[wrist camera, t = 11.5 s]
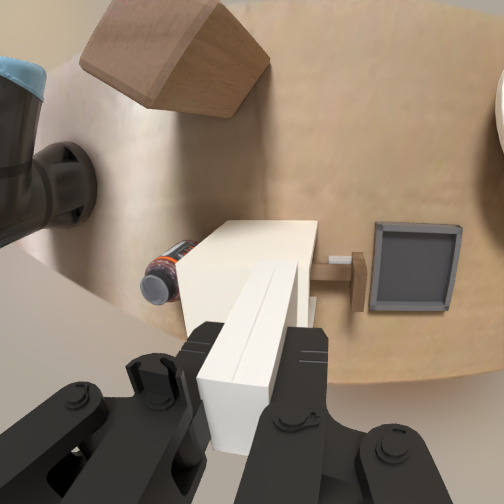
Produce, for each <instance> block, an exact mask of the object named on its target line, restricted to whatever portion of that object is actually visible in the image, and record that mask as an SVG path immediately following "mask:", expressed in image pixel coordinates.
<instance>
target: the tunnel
mask: <svg viewBox="0 0 504 504" xmlns="http://www.w3.org/2000/svg"><path fill="white" fill-rule="evenodd" d="M317 229H318V221H300V220H227V221H226V222H225V223H224V224H222V225H221V226H220V227H219V228H218V229H216V230H215V231H214V232H213V233H212V234H210V235H209V236H208V237H207V238H205V239H204V240H203V241H202V242H201V243H199V244H198V245H197V246H196V247H195V248H193V249H192V250H191V251H190V252H189V253H187V254H186V255H185V256H184V257H183V258H181V259H180V260H179V261H178V262H177V263H176V264H175V265H176V272H177V278H178V284H179V291H180V297H181V302H182V308H183V314H184V320H185V325H186V330H187V336H188V337H189V336H190V334H191V333H192V331H193V330H194V329H195V328H196V327H198V326H199V325H201V324H202V323H204V322H205V321H210V322H221V323H225V322H226V320H227V318H228V317H229V315H230V313H231V311H232V309H233V307H234V305H235V303H236V301H237V299H238V297H239V296H240V294H241V292H242V290H243V288H244V286H245V284H246V282H247V280H248V278H249V276H250V275H251V273H252V271H253V269H254V267H255V265H256V263H257V261H258V260H286V261H298V305H297V327H307V328H313V325H314V317H315V310H316V301H317V297H310V269H311V264H312V258H313V253H314V247H315V241H316V235H317ZM351 260H352V256H329V263H332V264H351Z"/></svg>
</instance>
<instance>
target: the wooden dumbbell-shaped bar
mask: <svg viewBox="0 0 504 504" xmlns="http://www.w3.org/2000/svg"><path fill="white" fill-rule="evenodd" d="M310 280H334V281H350V299H351V311H354V312H363V310H364V301H365V291H366V280H367V268H366V264H365V259H364V255H363V252H352V260H351V264H332V263H312V264H311V269H310Z"/></svg>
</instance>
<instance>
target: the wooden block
mask: <svg viewBox="0 0 504 504" xmlns="http://www.w3.org/2000/svg"><path fill="white" fill-rule="evenodd" d="M269 62H270V57H269V56H268V55H267V54H266V52H265V51H264V50H263V49H262V48H261V46H260V45H259V44H258V43H257V42H256V40H255V39H254V38H253V37H252V36H251V35H250V33H249V32H248V31H247V30H246V29H245V28H244V27H243V26H242V24H241V23H240V22H239V21H238V20H237V19H236V18H235V17H234V16H233V14H232V13H231V12H230V11H229V10H228V9H227V8H226V7H225V6H224V5H223V4H222V3H221V2H220V1H219V0H113V1H112V2H111V4H110V5H109V7H108V9H107V10H106V12H105V13H104V15H103V17H102V18H101V20H100V22H99V24H98V25H97V27H96V29H95V31H94V32H93V34H92V36H91V38H90V39H89V41H88V43H87V45H86V47H85V49H84V51H83V53H82V55H81V57H80V61H79V65H80V66H81V68H82V69H83V70H84V71H86V72H87V73H89V74H91V75H93V76H94V77H96V78H98V79H99V80H101V81H103V82H104V83H106V84H108V85H109V86H111V87H113V88H114V89H116V90H118V91H119V92H121V93H123V94H124V95H126V96H127V97H129V98H131V99H132V100H134V101H136V102H137V103H139V104H140V105H142V106H144V107H145V108H147V109H157V110H168V111H177V112H185V113H193V114H201V115H208V116H215V117H222V118H228V119H229V118H230V117H232V116H233V115H234V114H235V112H236V111H237V109H238V108H239V106H240V105H241V103H242V102H243V100H244V99H245V97H246V96H247V95H248V93H249V92H250V90H251V89H252V87H253V86H254V84H255V83H256V82H257V80H258V79H259V77H260V76H261V75H262V73H263V72H264V70H265V69H266V68H267V66H268V65H269Z"/></svg>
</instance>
